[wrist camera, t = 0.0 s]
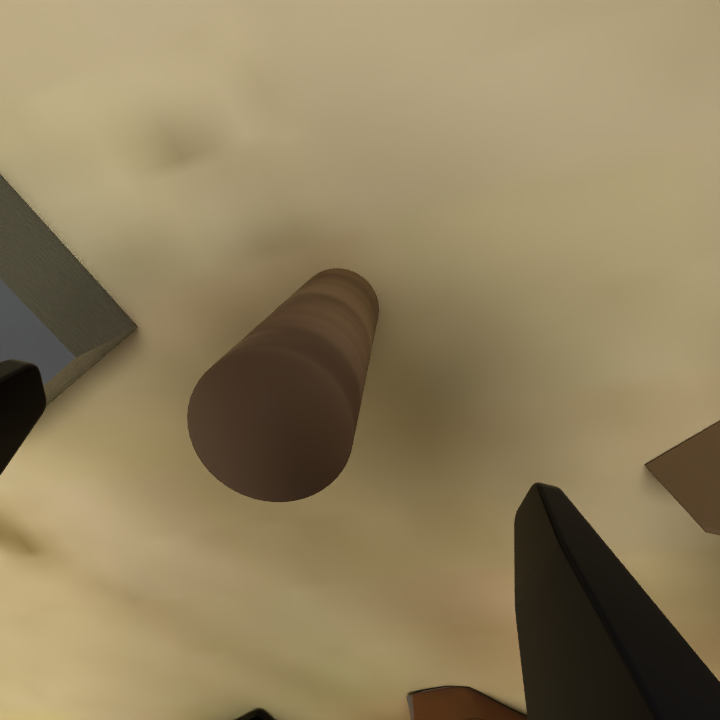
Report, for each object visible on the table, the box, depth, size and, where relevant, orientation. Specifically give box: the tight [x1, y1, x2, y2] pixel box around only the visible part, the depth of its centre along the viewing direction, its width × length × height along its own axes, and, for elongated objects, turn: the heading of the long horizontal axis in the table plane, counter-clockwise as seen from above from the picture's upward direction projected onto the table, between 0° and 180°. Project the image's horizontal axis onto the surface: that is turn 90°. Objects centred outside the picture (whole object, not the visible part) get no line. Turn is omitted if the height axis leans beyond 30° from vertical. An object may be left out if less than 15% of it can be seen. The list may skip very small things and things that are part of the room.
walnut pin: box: [187, 269, 379, 502], centre depth 17 cm, size 4×4×13 cm
